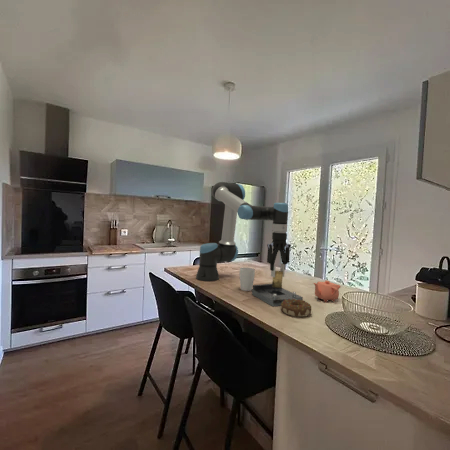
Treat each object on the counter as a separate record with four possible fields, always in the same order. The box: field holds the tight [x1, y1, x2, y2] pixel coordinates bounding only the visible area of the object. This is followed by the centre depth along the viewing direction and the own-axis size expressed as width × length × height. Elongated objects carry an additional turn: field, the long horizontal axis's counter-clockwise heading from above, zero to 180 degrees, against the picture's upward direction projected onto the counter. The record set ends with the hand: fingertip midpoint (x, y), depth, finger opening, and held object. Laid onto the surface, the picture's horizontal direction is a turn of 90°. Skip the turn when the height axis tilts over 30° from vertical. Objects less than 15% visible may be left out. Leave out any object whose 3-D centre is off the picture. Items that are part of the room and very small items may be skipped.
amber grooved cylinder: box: [271, 270, 283, 288], centre depth 140 cm, size 5×5×8 cm
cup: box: [238, 267, 256, 292], centre depth 156 cm, size 9×9×12 cm
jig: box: [251, 283, 304, 308], centre depth 141 cm, size 20×18×5 cm
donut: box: [280, 299, 312, 318], centre depth 122 cm, size 14×14×5 cm
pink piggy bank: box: [312, 280, 341, 303], centre depth 143 cm, size 14×12×10 cm
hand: (277, 276), depth 140 cm, fingers closed on amber grooved cylinder, 5 cm apart
